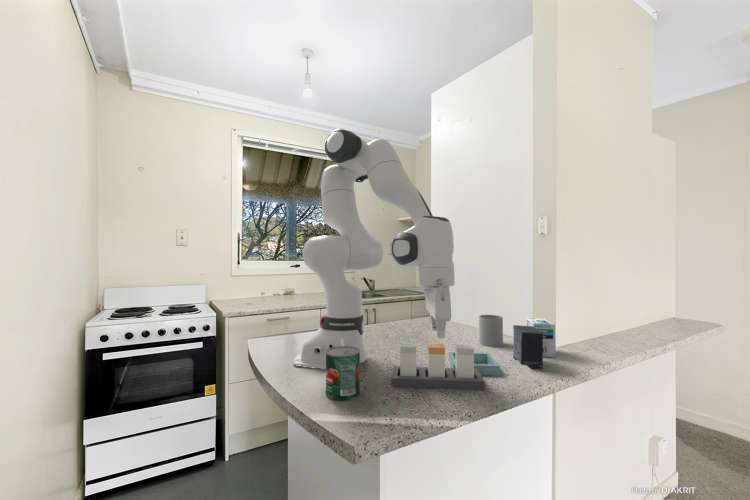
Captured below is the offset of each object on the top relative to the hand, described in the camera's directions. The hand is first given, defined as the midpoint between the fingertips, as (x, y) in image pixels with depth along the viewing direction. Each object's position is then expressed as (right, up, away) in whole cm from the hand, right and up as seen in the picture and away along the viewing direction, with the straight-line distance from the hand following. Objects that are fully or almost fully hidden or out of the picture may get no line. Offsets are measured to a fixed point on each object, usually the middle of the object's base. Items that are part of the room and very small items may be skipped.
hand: (437, 333), depth 87 cm
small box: (+31, -14, +18) cm, 38 cm away
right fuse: (+7, -12, 0) cm, 14 cm away
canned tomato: (-23, -13, -7) cm, 28 cm away
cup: (+27, -14, +41) cm, 51 cm away
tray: (+12, -13, +11) cm, 21 cm away
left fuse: (-7, -12, +1) cm, 14 cm away
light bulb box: (+40, -14, +29) cm, 51 cm away
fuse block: (0, -13, 0) cm, 13 cm away
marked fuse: (0, -12, 0) cm, 12 cm away
